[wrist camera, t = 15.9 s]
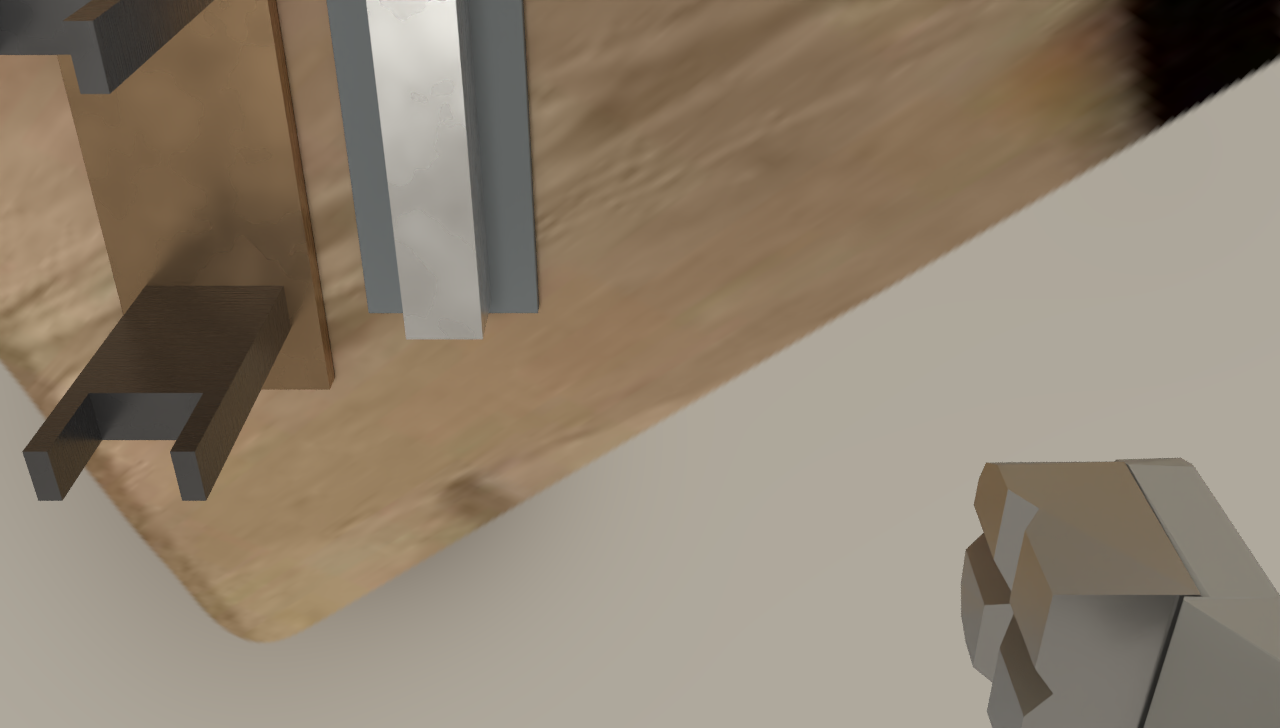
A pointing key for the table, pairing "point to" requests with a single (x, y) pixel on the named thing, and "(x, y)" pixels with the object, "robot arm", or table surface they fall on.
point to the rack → (182, 226)
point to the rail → (432, 164)
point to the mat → (499, 143)
